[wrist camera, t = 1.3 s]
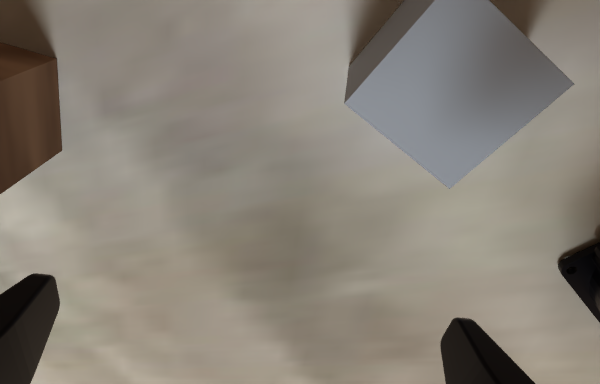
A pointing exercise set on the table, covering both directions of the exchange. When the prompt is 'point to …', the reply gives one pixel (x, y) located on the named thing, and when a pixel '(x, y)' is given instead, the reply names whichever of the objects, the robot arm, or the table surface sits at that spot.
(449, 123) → the slate cube
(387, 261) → the table surface
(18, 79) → the walnut block
